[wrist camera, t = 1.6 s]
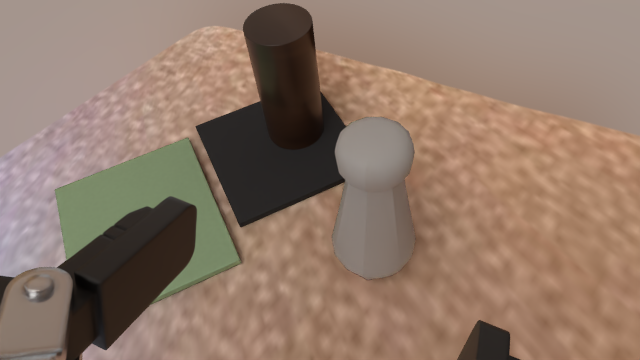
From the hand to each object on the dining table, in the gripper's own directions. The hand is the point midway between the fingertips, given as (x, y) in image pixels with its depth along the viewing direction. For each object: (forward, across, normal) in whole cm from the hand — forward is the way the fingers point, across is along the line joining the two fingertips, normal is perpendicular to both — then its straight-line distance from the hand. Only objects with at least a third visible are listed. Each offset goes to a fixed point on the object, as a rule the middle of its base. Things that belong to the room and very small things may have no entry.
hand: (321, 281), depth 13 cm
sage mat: (+16, +18, +18) cm, 30 cm away
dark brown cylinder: (+28, +11, +11) cm, 32 cm away
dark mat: (+26, +11, +12) cm, 31 cm away
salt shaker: (+19, 0, +14) cm, 24 cm away
